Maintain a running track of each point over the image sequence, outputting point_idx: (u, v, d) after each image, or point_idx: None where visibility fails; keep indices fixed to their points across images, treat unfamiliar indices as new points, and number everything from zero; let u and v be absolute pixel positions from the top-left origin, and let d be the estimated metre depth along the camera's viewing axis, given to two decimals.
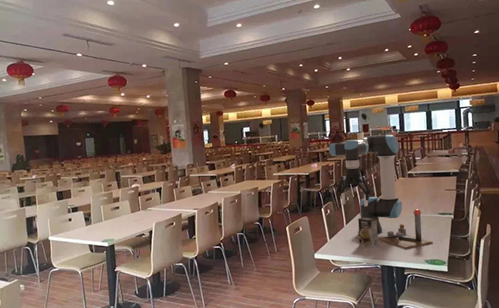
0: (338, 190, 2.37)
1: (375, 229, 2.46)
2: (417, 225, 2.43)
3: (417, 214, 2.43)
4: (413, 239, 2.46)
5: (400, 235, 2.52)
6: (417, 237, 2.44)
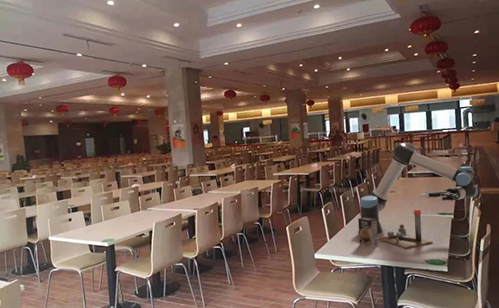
0: None
1: (375, 229, 2.46)
2: (417, 225, 2.43)
3: (417, 214, 2.43)
4: (413, 239, 2.46)
5: (400, 235, 2.52)
6: (417, 237, 2.44)
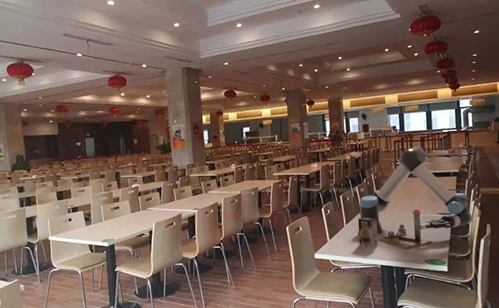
0: (435, 227, 2.45)
1: (375, 229, 2.46)
2: (416, 225, 2.43)
3: (416, 214, 2.42)
4: (412, 239, 2.46)
5: (400, 235, 2.52)
6: (416, 237, 2.43)
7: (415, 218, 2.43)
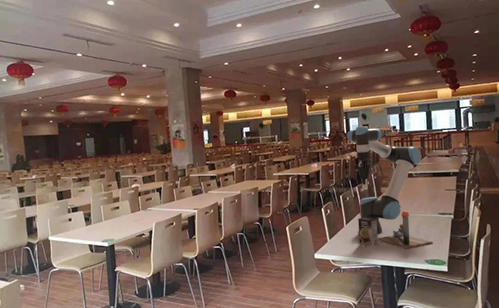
0: (364, 176, 2.53)
1: (375, 229, 2.46)
2: (403, 227, 2.41)
3: (403, 216, 2.40)
4: (403, 240, 2.45)
5: (398, 235, 2.53)
6: (403, 239, 2.42)
7: None
